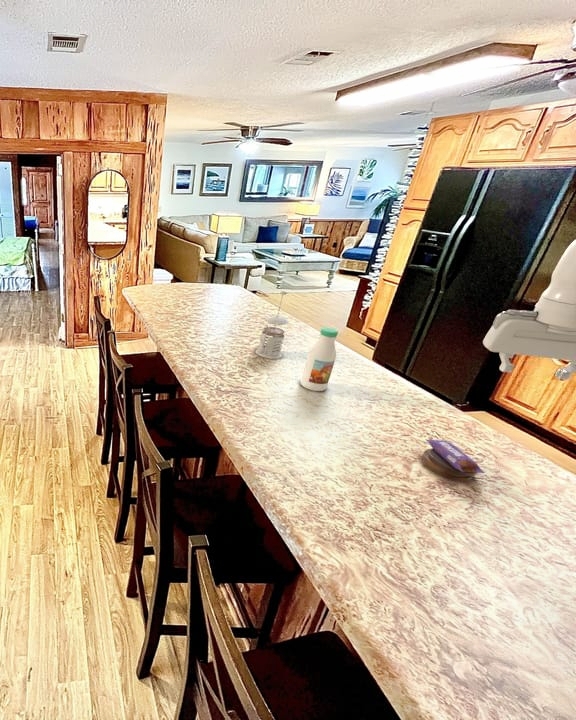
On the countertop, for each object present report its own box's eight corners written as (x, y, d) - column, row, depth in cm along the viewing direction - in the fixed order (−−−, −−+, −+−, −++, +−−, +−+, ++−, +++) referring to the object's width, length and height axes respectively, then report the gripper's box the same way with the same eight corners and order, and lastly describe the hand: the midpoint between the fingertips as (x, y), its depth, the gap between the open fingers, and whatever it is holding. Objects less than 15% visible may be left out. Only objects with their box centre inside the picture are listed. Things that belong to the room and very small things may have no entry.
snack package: (426, 436, 96) (447, 437, 96) (423, 442, 97) (444, 443, 96) (463, 468, 85) (487, 469, 85) (460, 475, 86) (483, 476, 86)
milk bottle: (296, 385, 128) (312, 329, 119) (304, 377, 133) (320, 323, 124) (322, 394, 123) (340, 336, 114) (328, 385, 128) (347, 329, 119)
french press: (287, 355, 149) (304, 292, 138) (269, 362, 143) (285, 297, 132) (265, 346, 157) (279, 286, 146) (247, 352, 151) (260, 290, 140)
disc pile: (462, 461, 95) (467, 451, 94) (480, 487, 87) (486, 477, 86) (415, 451, 98) (420, 441, 97) (429, 475, 90) (434, 465, 89)
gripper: (508, 313, 79) (479, 373, 85) (648, 325, 72) (606, 389, 78) (492, 304, 84) (466, 361, 90) (621, 315, 78) (584, 375, 83)
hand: (532, 374), depth 84 cm, fingers open, 8 cm apart
